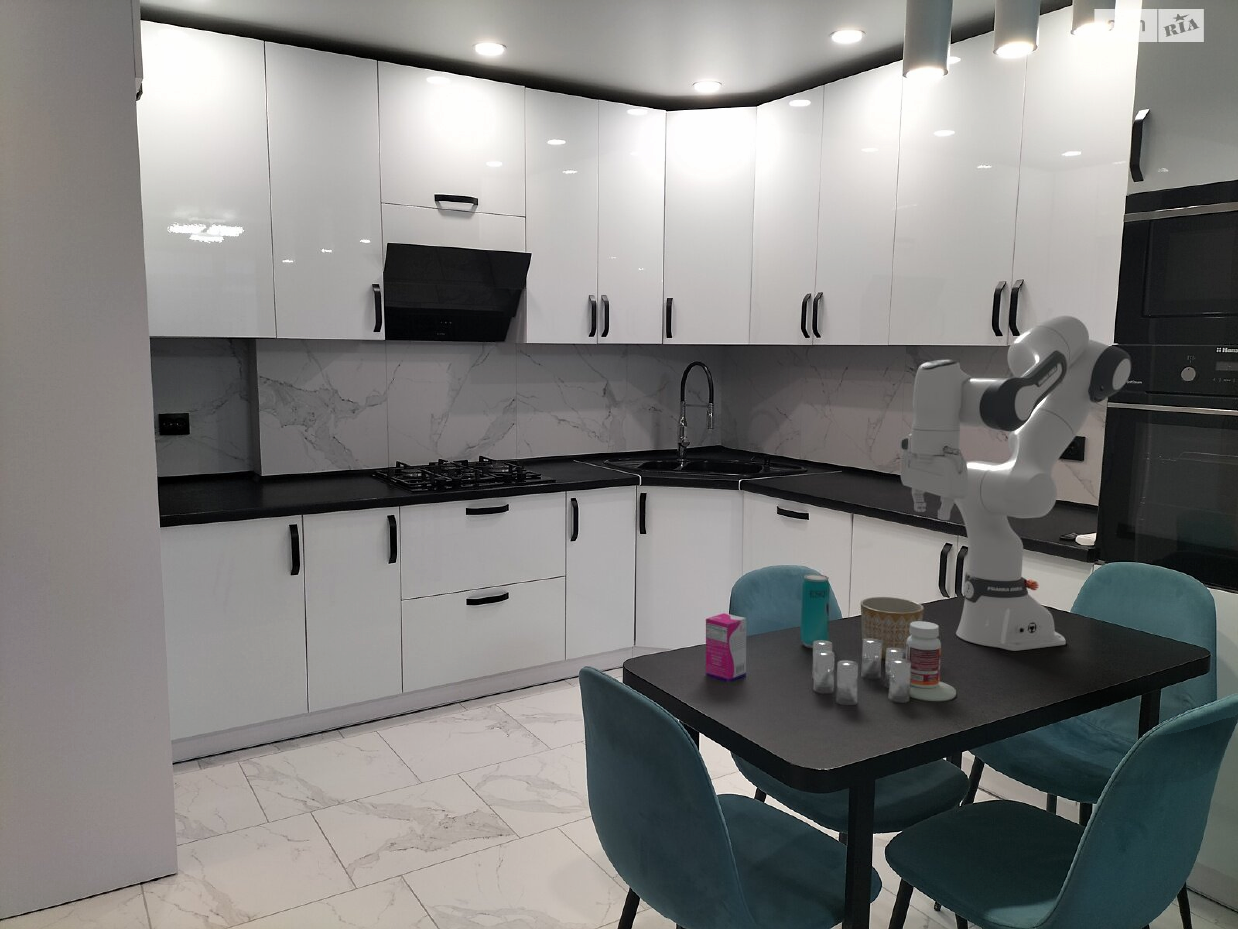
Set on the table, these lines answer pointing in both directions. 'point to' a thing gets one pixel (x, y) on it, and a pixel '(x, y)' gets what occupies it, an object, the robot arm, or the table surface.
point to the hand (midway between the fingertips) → (931, 515)
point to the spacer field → (871, 669)
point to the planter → (889, 620)
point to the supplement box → (726, 647)
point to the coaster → (933, 693)
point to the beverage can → (814, 609)
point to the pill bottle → (924, 654)
